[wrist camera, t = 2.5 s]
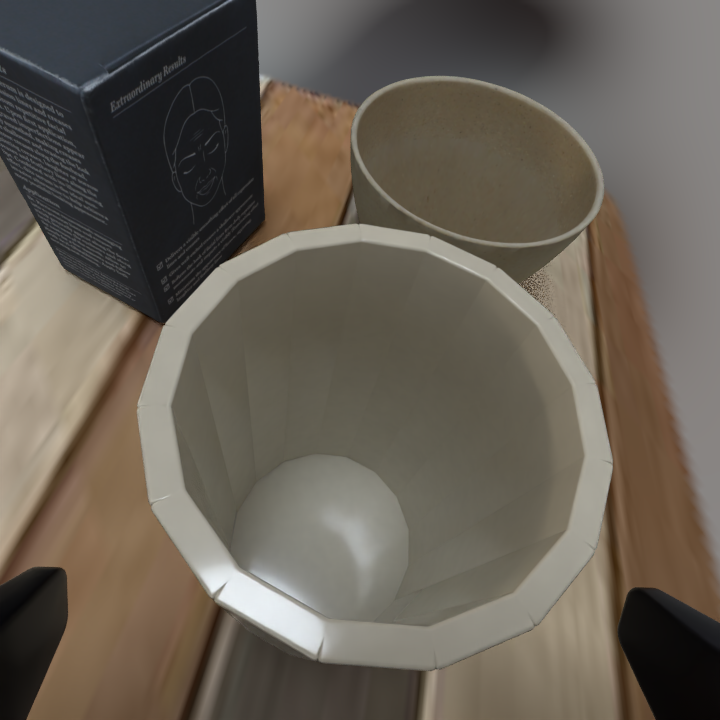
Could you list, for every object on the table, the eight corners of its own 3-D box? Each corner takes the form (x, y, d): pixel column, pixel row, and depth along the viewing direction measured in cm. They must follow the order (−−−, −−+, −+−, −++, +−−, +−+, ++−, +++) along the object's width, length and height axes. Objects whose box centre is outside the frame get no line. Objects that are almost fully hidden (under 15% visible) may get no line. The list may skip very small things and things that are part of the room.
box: (175, 175, 26) (122, -82, 17) (267, 222, 25) (264, -20, 16) (57, 270, 22) (-97, -2, 13) (164, 330, 21) (81, 87, 12)
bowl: (462, 188, 29) (513, 63, 23) (561, 322, 25) (656, 214, 18) (301, 221, 25) (311, 85, 19) (385, 382, 21) (430, 275, 15)
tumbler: (444, 612, 17) (704, 556, 7) (244, 692, 15) (184, 781, 5) (377, 432, 20) (488, 204, 10) (204, 478, 18) (115, 253, 8)
